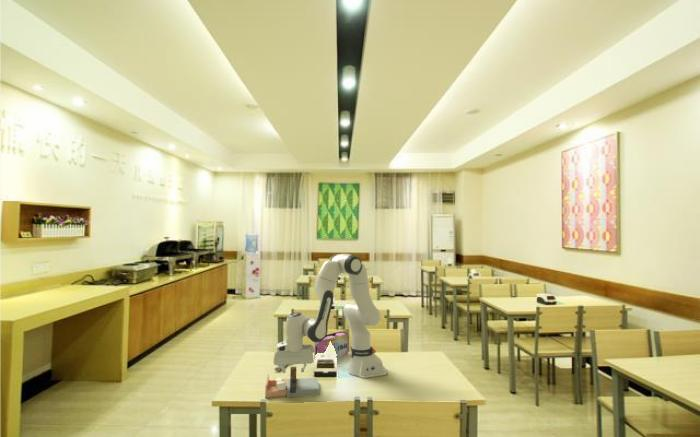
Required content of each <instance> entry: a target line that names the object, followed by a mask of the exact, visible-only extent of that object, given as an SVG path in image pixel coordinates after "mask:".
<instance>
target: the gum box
mask: <svg viewBox="0 0 700 437" xmlns="http://www.w3.org/2000/svg"><path fill="white" fill-rule="evenodd" d="M330 341H331V343H332V345H333V346H334V348H335V351H336V354H337V356H336V358H340V357H342V356H346V355H348V354H349V333H347V332H345V331H343V330H342V331H341V330H339V331H337V332H332V333H329V334H328V333H327V335H326V337H325V338H324V339H323V340H322V341H320V342H314V352H313V353H314V354H313V360H314V359H315V355H316V354H317V353H324V352H325V351H326V349H327V347H328V345H329V342H330ZM315 360H316V359H315Z"/></svg>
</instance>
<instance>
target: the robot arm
mask: <svg viewBox="0 0 700 437" xmlns="http://www.w3.org/2000/svg"><path fill="white" fill-rule="evenodd" d="M341 274H347V275H348V282H349V293H350V297H351V298H352V299H353V301H354V302H348V303H346V304H345V305H344V307H343V309H342V310H343V313H342V314H343V317H344V318H345V319H346V320H347V322H348V325H349V329H350V332H351V334H350V335H351V346H350V362H349V367H348V373H349V375H352V376H355V377H359V378H361V379H368V378H374V377H380V376H381V377H382V376H386V375H388V371H387V368H386V367H385V366H384V364H383V361H382V359H381V357H379V356H378V355H376V349H375V348H374V347H372V346H371V333H370V331H369V330H368V328H367V327H366V326H369V327H372V326H373V327H374V326H377V325H378V324H379V322H380V321H381V312H380V310H379V309H378V308H377V307H376V305H375V304H374V302H373V300H372V297H371V293H370V288H369V278H368V277H369V276H368V273H367V269H366V266H365V264H364V263H362V260H361V258H360V257H359V256H357V255H354V254H350V253H336V254H335V253H334V254H333V255H332V256H331V257H330V259H329V260H325V261H324V262H323V264H322V265H321V267H320V269H319V271H318V274H317V276H316V279H315V281H314V291H315V293H316V295H317V297H318V299H319V307H318V311H317V314H316V318H314V317H311V316H307V315H305V314H303V313H302V312H300V311H299V312H296V311H295V312H292V313H290V314H288V316H287V317H286V322H285V340H283V341H281V342H279V343H277V345H276V346H275V347H276V350H275V351H274V356H273V365H274V366H278V365H281V370H282V374H286V368H285V367H284V368H285V369H284V368H283V365H288V366H289V365H303V366H302V367H300V372H301V373H304V372H305V369H306V367H307V364H313V363H314V354H313V353H314V351H315V346H314V345H312V344H303V341H304V340H303V338H304V337H306V338H308V339H309V340H311V341H312V342H313V343H315V342H320V341H322V340H323V339H324V338H325V337H326V335H327V334H328V323H329V319H330V315H331V311H332V306H333V302H334V293H335V292H334V291H335V288H336V285H337V281H338V279H339V276H340V275H341Z"/></svg>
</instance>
